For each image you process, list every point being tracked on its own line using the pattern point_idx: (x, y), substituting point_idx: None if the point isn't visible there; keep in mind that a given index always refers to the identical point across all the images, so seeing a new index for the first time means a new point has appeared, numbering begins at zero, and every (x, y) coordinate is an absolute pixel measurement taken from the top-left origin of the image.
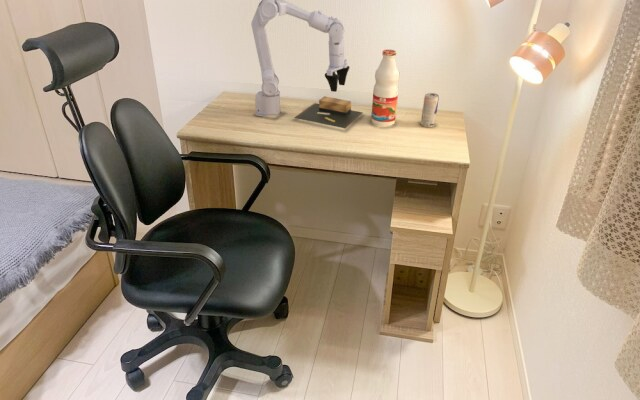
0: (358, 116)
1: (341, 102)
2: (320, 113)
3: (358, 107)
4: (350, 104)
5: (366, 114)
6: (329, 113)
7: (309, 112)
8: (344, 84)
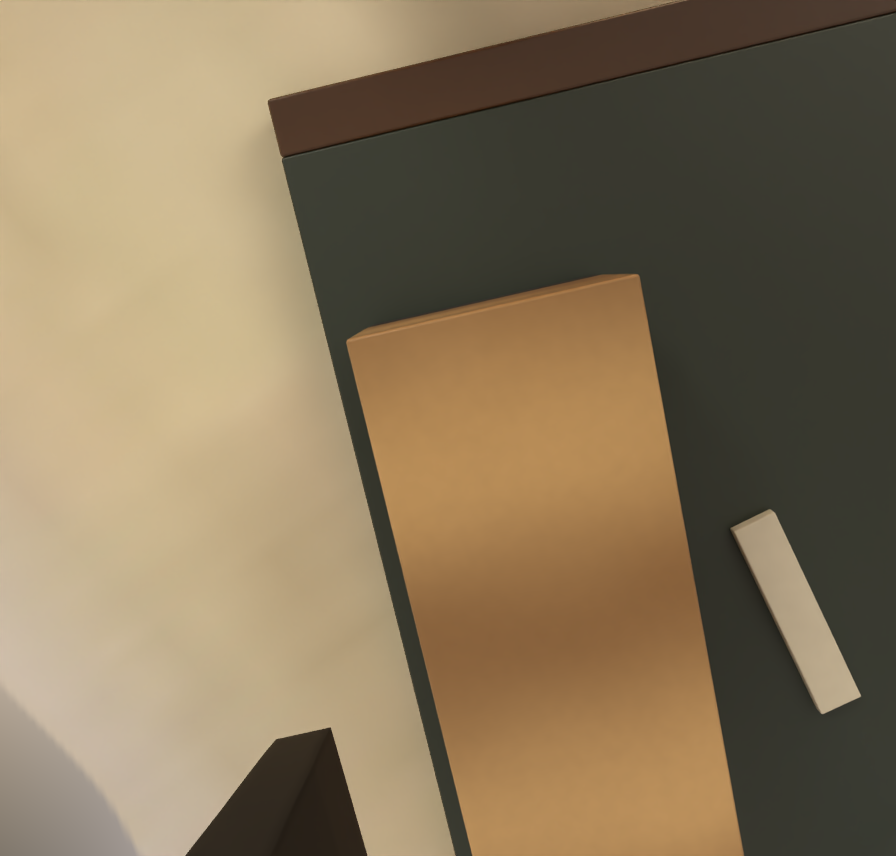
0: (495, 47)
1: (568, 464)
2: (837, 647)
3: (39, 394)
4: (394, 324)
5: (201, 84)
6: (747, 530)
7: (883, 813)
8: (286, 744)
